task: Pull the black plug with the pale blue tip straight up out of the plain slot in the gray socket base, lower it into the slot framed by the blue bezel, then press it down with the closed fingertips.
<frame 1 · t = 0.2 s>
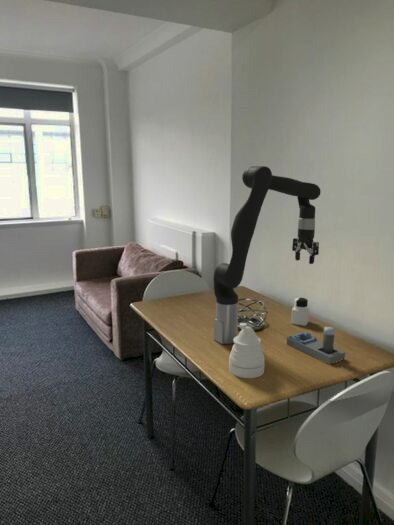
hand: (304, 262, 199), 29 cm above the table, tool pointing down, fingers open, 8 cm apart
honey pot: (246, 370, 156), on the table
gray socket base: (314, 351, 171), on the table
medicine bottle: (299, 323, 203), on the table
plug: (327, 357, 165), resting in gray socket base
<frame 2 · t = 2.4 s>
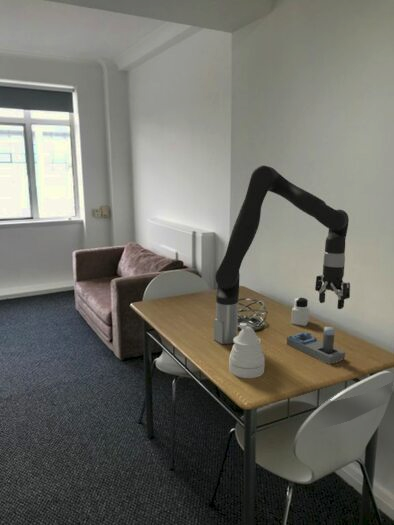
hand: (330, 305, 161), 21 cm above the table, tool pointing down, fingers open, 8 cm apart
nothing on the table moved.
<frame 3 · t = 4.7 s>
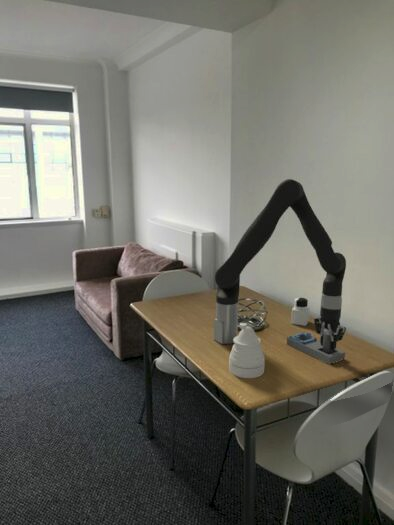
hand: (328, 347, 164), 4 cm above the table, tool pointing down, fingers closed on plug, 4 cm apart
plug: (327, 357, 165), resting in gray socket base, touching gripper
everything else where it was.
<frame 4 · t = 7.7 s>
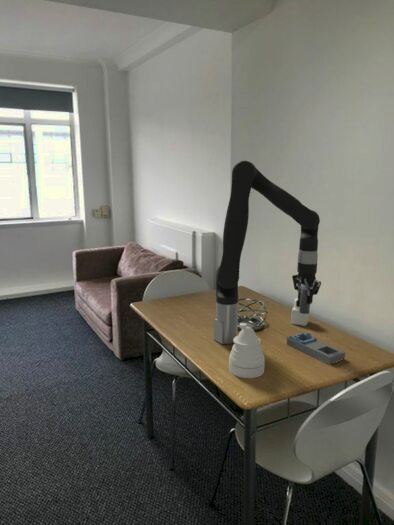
hand: (304, 302, 172), 19 cm above the table, tool pointing down, fingers closed on plug, 4 cm apart
plug: (304, 312, 173), point 15 cm above the table, touching gripper
everything else where it was.
when the fingers open (5 cm above the table, at t = 11.0 s): plug drops 1 cm, resting in gray socket base.
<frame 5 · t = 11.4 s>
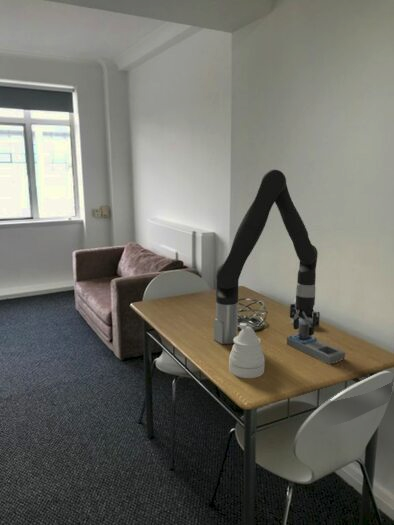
hand: (303, 331, 175), 6 cm above the table, tool pointing down, fingers open, 7 cm apart
plug: (302, 345, 176), resting in gray socket base
everything else where it was.
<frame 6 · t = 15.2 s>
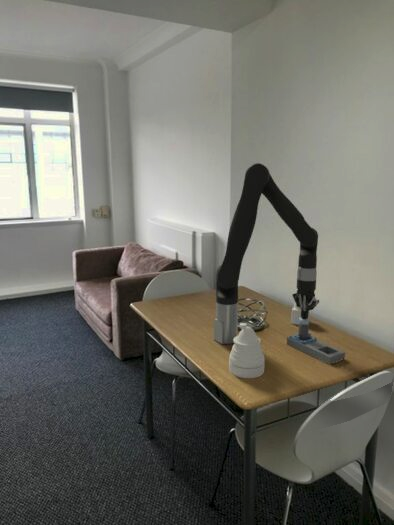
hand: (304, 318, 173), 12 cm above the table, tool pointing down, fingers closed
plug: (302, 345, 176), resting in gray socket base, touching gripper
everything else where it was.
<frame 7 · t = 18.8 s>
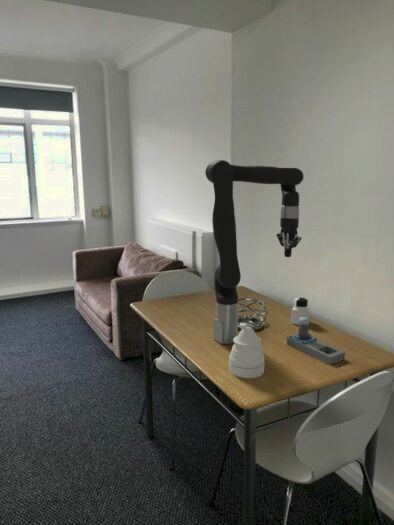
hand: (287, 256, 182), 35 cm above the table, tool pointing down, fingers closed
plug: (302, 345, 176), resting in gray socket base
everything else where it was.
at the end: plug 0.0 cm from the target spot on the gray socket base, point 0.0 cm above the gray socket base's base; plug tilted 0°; the gripper is holding nothing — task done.
